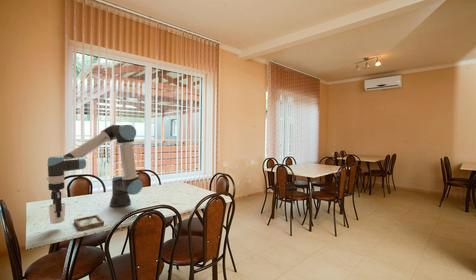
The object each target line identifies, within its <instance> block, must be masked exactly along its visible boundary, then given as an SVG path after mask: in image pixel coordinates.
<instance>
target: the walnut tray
mask: <svg viewBox="0 0 476 280" xmlns="http://www.w3.org/2000/svg"><path fill="white" fill-rule="evenodd" d="M73 223H74V225H75V226H76V227H77V229H78V231H84V230H88V229H92V228H97V227H101V226H104V225H105V221H104V220H103V219H102V218H101V217H100V216H99V215H98V214H94V215H87V216H84V217H79V218H74V219H73Z"/></svg>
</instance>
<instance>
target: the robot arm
mask: <svg viewBox="0 0 476 280" xmlns="http://www.w3.org/2000/svg"><path fill="white" fill-rule="evenodd" d="M136 136H137V130H136V128H135V126H134V125H132V124H129V123H114V124H113V123H112V124H111V125H109V126H108V127H106V128H104V129H103V130H101V131H100V133H99V134H97V135H95V136H94V137H92V138H90V139H89V140H88V141H86V142H84V143H83V144H81V145H80V146H77V147H76V148H75V149H73V150H71V151H70V152H68V153H66V154H65V155H57V156H56V155H54V156H49V157H48V158H47V177H46V180H48V185H47V186H48V190H49V191H52V193H51V195H52V204H55V207H56V211H54V213H55V217H56V224H60V222H61V223H63V222H62V218H61V211H62V206H61V203H62V191H61V190H63V189H65V172H70V171H72V172H73V171H78V170H79V171H80V170H84V169H85V168H86V167H87V160H86V159H85V157H86V156H87V155H89V154H90V153H92V152H93V151H95V150H97V149H99V147H102V146H103V145H105V144H106V143H111V142H112V141H113V140H116V143H117V144H118V145H119V149H120V151H119V152H120V159H121V165H122V171H123V174H122V175H115V176H113V177H112V180H111V182H112V183H111V184H112V185H111V186H112V190H111V191H112V193H111V195H112V196H111V199H110V202H109V207H112V208H122V207H127V206H130V205H131V204H132V203H131V202H132V199H131V197H130V196H131V195H133V196H134V195H138V194H139V193H140V192H141V191H142V189H143V185H144V184H143V181H142V180H140V177H139V176H140V175H139V174H137V171H136V163H135V154H134V148H133V143H134V142H135V138H136ZM58 209H59V210H58Z"/></svg>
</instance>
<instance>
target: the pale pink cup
mask: <svg viewBox="0 0 476 280" xmlns="http://www.w3.org/2000/svg"><path fill="white" fill-rule="evenodd" d="M61 206H62V211H61V218H62V222H60V223H63V222H65V220H66V218H65V216H66V203H63V202H61ZM58 210H59V209H58ZM54 211H56V207H55V204H53V203H52V204H50V205H48V213H49V215H48V216H49V219H50V220H49V221H50V224H52V225H56V224H57V223H56V217H55V213H54ZM60 223H59V224H60Z"/></svg>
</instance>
